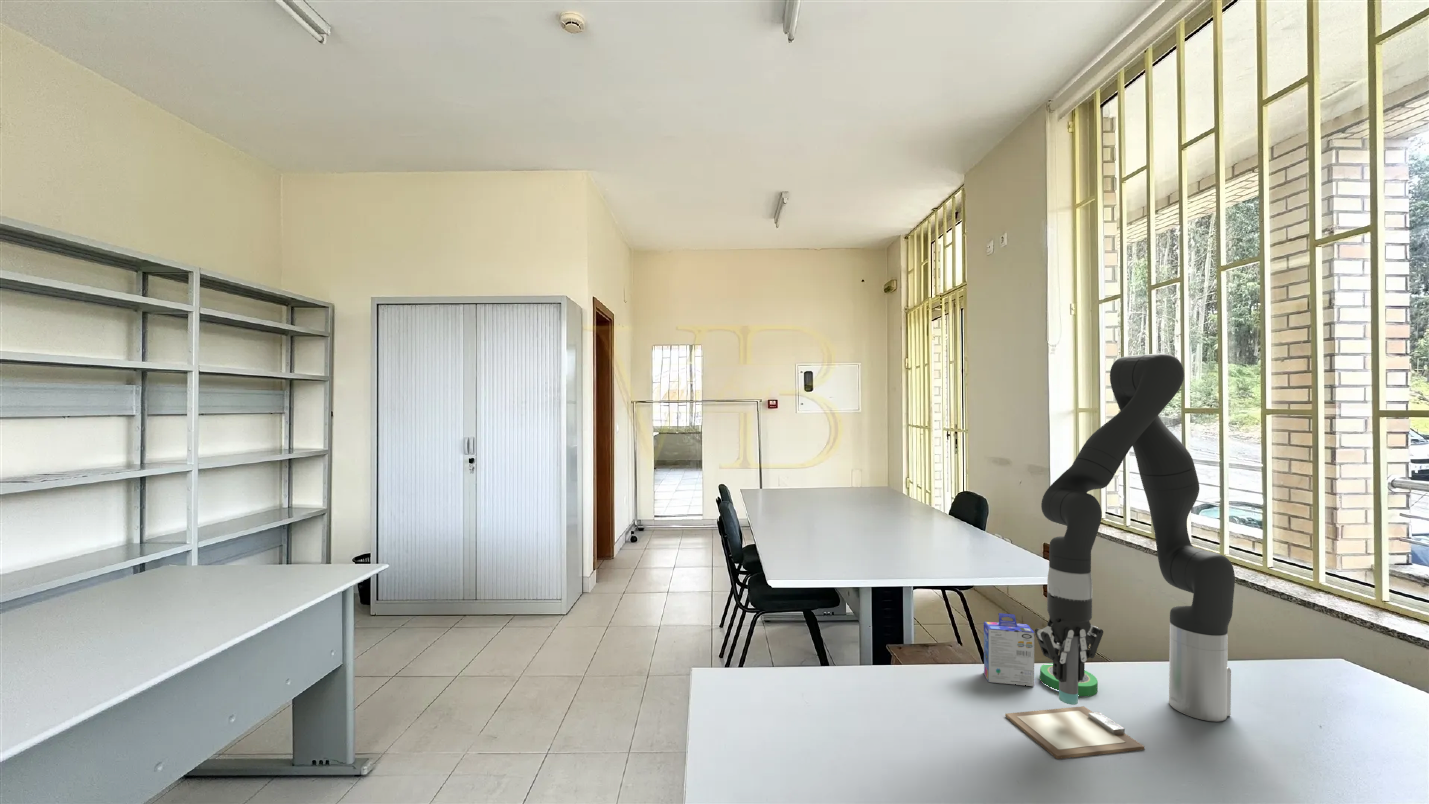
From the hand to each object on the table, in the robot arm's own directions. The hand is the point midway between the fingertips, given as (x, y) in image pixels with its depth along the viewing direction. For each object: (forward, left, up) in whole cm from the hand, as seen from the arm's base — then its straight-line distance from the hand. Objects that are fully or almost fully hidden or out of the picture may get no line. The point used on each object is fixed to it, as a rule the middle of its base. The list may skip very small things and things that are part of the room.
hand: (1068, 679), depth 114 cm
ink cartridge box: (-1, -19, -9) cm, 21 cm away
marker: (0, 0, -4) cm, 4 cm away
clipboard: (+1, +2, -9) cm, 9 cm away
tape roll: (-13, -15, -10) cm, 22 cm away
